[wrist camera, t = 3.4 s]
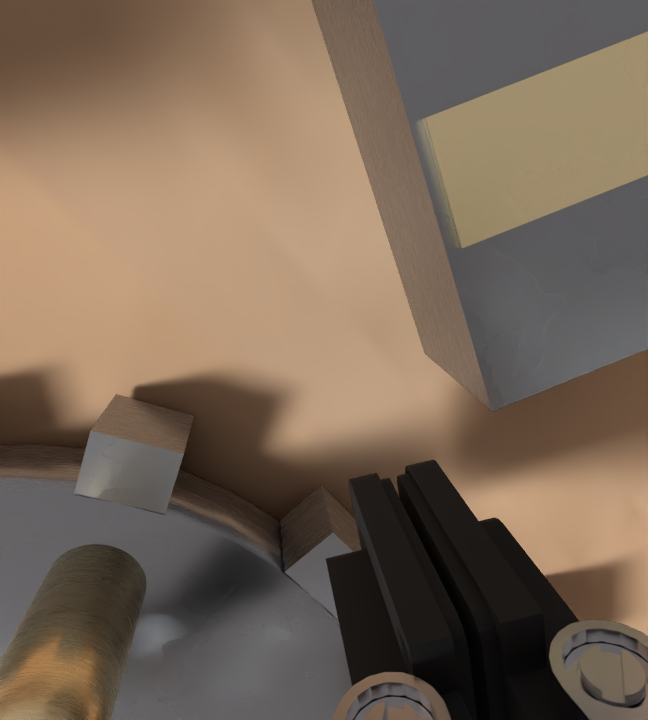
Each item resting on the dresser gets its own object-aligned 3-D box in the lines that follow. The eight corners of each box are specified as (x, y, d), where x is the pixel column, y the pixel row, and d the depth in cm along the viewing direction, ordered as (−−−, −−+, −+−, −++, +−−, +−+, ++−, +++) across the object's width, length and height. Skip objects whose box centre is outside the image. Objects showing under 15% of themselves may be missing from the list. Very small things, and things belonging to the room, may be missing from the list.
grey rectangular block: (491, -68, 11) (631, -227, 7) (569, 293, 13) (706, 331, 9) (309, 0, 11) (345, -118, 7) (422, 352, 13) (497, 415, 9)
